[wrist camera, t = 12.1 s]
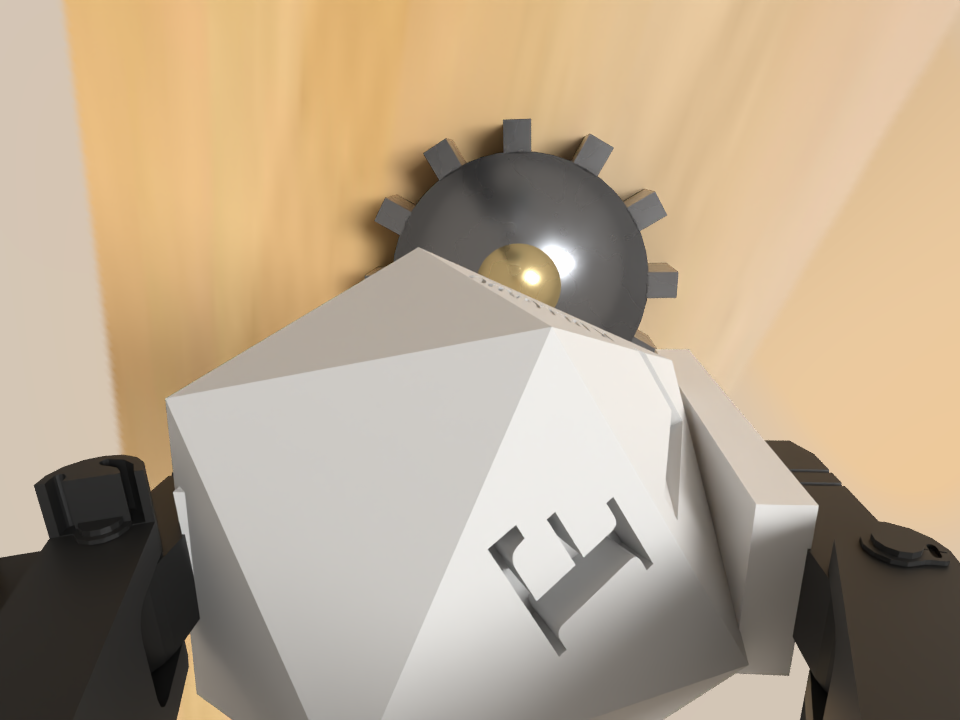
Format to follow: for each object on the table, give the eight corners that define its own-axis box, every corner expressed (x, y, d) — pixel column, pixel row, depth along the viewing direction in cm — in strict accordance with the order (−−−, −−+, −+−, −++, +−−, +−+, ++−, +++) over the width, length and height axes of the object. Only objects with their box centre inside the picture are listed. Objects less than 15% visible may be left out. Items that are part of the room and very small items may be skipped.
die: (735, 469, 15) (1000, 1017, 5) (436, 590, 17) (265, 1097, 8) (566, 157, 13) (522, 156, 4) (265, 345, 16) (-205, 622, 6)
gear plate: (366, 128, 29) (351, 124, 26) (677, 117, 27) (690, 113, 25) (389, 408, 33) (377, 426, 31) (656, 410, 32) (666, 430, 30)
